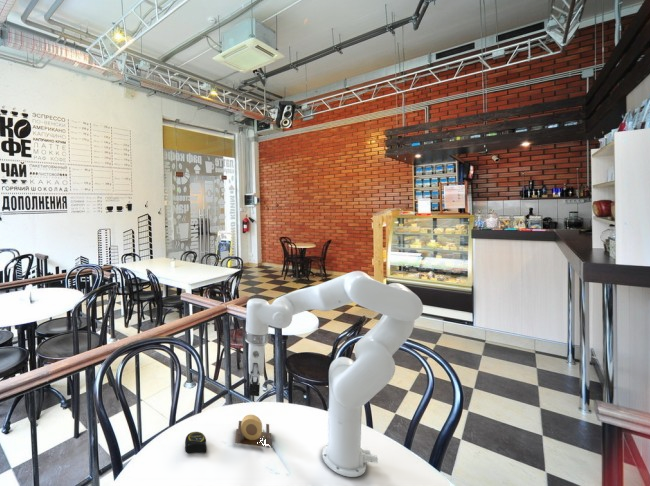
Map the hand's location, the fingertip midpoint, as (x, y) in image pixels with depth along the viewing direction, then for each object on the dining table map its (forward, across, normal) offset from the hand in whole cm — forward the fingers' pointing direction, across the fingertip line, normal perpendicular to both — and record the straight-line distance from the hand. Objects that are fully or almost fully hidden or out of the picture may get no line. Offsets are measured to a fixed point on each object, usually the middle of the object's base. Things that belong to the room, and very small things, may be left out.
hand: (254, 387), depth 110 cm
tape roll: (+17, 0, 0) cm, 17 cm away
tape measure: (+19, -8, +18) cm, 27 cm away
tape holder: (+18, 0, 0) cm, 18 cm away
